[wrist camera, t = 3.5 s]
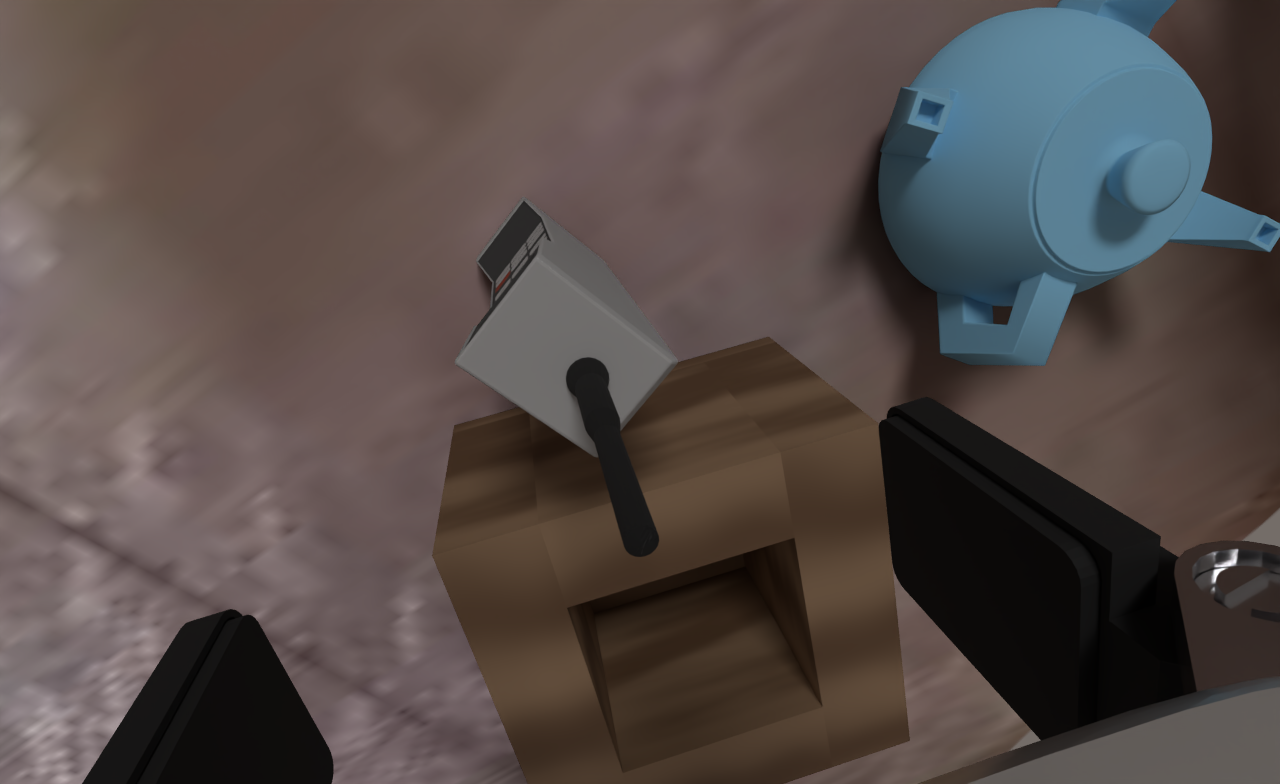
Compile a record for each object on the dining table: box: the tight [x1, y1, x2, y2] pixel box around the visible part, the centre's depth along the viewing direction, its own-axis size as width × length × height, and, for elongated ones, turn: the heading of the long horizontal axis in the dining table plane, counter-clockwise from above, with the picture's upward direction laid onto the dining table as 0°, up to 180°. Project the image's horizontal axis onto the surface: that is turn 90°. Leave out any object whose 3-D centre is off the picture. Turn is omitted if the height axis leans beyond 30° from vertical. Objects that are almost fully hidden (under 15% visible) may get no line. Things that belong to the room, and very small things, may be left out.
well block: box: [432, 337, 910, 784], centre depth 35 cm, size 18×18×12 cm
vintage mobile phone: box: [455, 197, 678, 557], centre depth 23 cm, size 4×5×25 cm
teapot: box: [878, 0, 1280, 366], centre depth 32 cm, size 15×15×11 cm
